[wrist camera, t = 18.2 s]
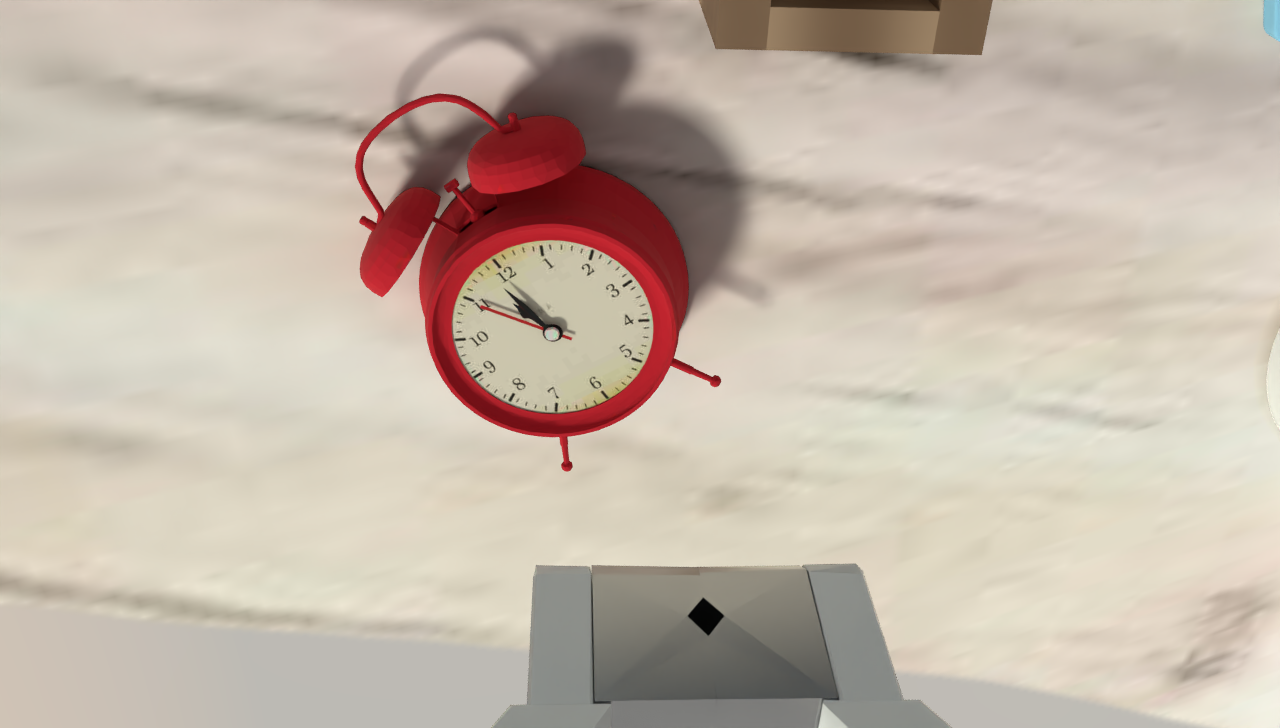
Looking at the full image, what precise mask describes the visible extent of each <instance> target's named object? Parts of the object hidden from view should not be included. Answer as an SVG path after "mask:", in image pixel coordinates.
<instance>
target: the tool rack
mask: <svg viewBox="0 0 1280 728" xmlns="http://www.w3.org/2000/svg"><path fill="white" fill-rule="evenodd" d="M699 2H700V5H701V8H702V11H703V14H704V16H705V19H706V22H707V25H708V28H709V31H710V33H711V36H712V39H713V42H714V45H715V48H716V49H745V50H788V51H832V52H875V53H919V54H962V55H982V50H983V45H984V40H985V35H986V30H987V25H988V20H989V15H990V10H991V5H992V0H699Z"/></svg>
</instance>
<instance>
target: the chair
mask: <svg viewBox="0 0 1280 728" xmlns="http://www.w3.org/2000/svg"><path fill="white" fill-rule="evenodd" d="M1263 24H1264V29H1265V31H1266V33H1267V34H1269V35H1270V36H1271V37H1273V38H1274V39H1276V40H1278V41H1280V0H1264V22H1263Z"/></svg>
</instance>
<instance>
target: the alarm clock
mask: <svg viewBox="0 0 1280 728" xmlns="http://www.w3.org/2000/svg"><path fill="white" fill-rule="evenodd" d="M444 101H446V102H452V103H457V104H459V105H462V106H464V107H466V108H468V109H470V110H471V111H473V112H474V113H476V114H477V115H478V116H480V117H481V118H483V119H484V120H485V121H486V122H487V123H489V124H490V125H491V126H492V127H493V128H495V129H494V130H492V131H491V132H489V133H488V134H486V135H485V136H483V137H482V138H481V139H480V140H479V141H477V142H476V144H475V145H474V146H473V148H472V149H471V151H470V153H469V157H468V162H467V168H468V174H469V178H470V181H471V184H472V186H471V187H470V188H468V189H467V190H466V191H465V192H463V193H461V192H460V190H459V189H458V188H457V187H458V186H459V183H458V181H457V180H456V179H455V178H454V179H453V180H452V181H450V182H449V183H447V184H446V185H444V188H445V190H446V191H447V192H448V193H449V192H451V191H453V192H454V193H455V194H456V196H457V197H458V198H456V199H455V200H454V201H453V202H452V203H450V205H449V206H448V207H447V209H446V210H445V211H444V212H443V214H442V215H441V217H440V218H439V219H437V218H436V217H434V216H435V214H436V211H437V209H438V206H439V202H440V198H441V197H440V196H439V195H437V194H436V193H434V192H433V191H431V190H428V189H425V188H423V187H413V188H410V189H408V190H406V191H404V192H403V193H401V194H400V195H399V196H398V197H397V198H396V199H395V200H394V201H393V202H392V203H391V204H390V205H389V206H388V208H387V209H386V210H385V212H384V209H383V208H382V206H381V205H380V203H379V202H378V200H377V199H376V197H375V195H374V194H373V192H372V191H371V189H370V187H369V185H368V183H367V181H366V179H365V176H364V172H363V159H364V155H365V152H366V150H367V149H368V147H369V145H370V144H371V142H372V141H373V140H374V139H375V138H376V136H377V135H378V134H379V133H380V132H381V131H382V130H383V129H385V128H386V127H387V126H388V125H389V124H391V123H392V122H393V121H394V120H395V119H397V118H399V117H400V116H402V115H403V114H405V113H407V112H409V111H410V110H412V109H414V108H417V107H419V106H422V105H425V104H428V103H432V102H444ZM508 119H509V122H510V123H508V124H505V125H503V126H501V125H500V124H499V123H498V122H497V121H496V120H495V119H494V118H493V117H492V116H490V115H489V114H488V113H487V112H486V111H484V110H483V109H482V108H480V107H479V106H477V105H476V104H475V103H473V102H471V101H469V100H467V99H465V98H463V97H460V96H456V95H450V94H434V95H429V96H424V97H421V98H419V99H416V100H414V101H412V102H409V103H407V104H405V105H404V106H402V107H401V108H399V109H397V110H396V111H394V112H392V113H391V114H389V115H388V116H386V117H385V118H384V119H383V120H382V121H381V122H380V123H379V124H378V125H377V126H376V127H374V128H373V129H372V130H371V131H370V132H369V134H368V135H367V136H366V138H365V139H364V140H363V142H362V143H361V145H360V148H359V150H358V152H357V155H356V163H355V169H356V174H357V179H358V181H359V183H360V185H361V187H362V190H363V191H364V193H365V194H366V196H367V197H368V199H369V200H370V202H371V203H372V205H373V206H374V208H375V209H376V211H377V213H378V219H377V223H375V222H373V221H372V220H370V219H368V218H366V217H365V216H362V217H361V219H360V221H359V222H360V224H362V225H365V227H367V228H368V229H370V230H371V231H372V232H371V234H370V236H369V238H368V241H367V243H366V246H365V249H364V251H363V254H362V257H361V263H360V275H361V279H362V280H363V282H364V284H365V285H366V287H367V288H369V289H370V290H371V291H372V292H374V293H375V294H377V295H379V296H381V297H383V296H384V295H385V294H386V293H387V292H388V291H389V290H390V289H391V287H392V286H393V285H394V284H395V282H396V281H397V280H398V278H399V277H400V275H401V274H402V272H403V271H404V269H405V268H406V266H407V265H408V263H409V262H410V260H411V259H412V257H413V255H414V254H415V252H416V250H417V248H418V247H419V245H420V243H421V242H422V240H423V238H424V236H425V234H426V232H427V231H428V229H429V227H430V225H431V223H432V221H434V222H435V223H436V224H435V226H434V228H433V230H432V232H431V234H430V236H429V238H428V241H427V244H426V247H425V250H424V253H423V257H422V261H421V267H420V276H419V291H420V300H421V305H422V310H423V313H424V316H425V329H426V337H427V343H428V346H429V350H430V353H431V356H432V359H433V361H434V363H435V366H436V368H437V370H438V372H439V374H440V376H441V378H442V379H443V381H444V382H445V384H446V385H447V386H448V388H449V389H450V390H451V392H452V393H453V394H454V395H455V396H456V397H457V398H458V399H459V400H460V401H461V402H462V403H463V404H464V405H465V406H466V407H468V408H469V409H470V410H472V411H473V412H474V413H476V414H477V415H479V416H480V417H482V418H484V419H485V420H487V421H489V422H491V423H493V424H495V425H497V426H500V427H503V428H505V429H508V430H511V431H514V432H518V433H522V434H526V435H533V436H542V437H560V445H561V446H562V452H563V458H564V462H563V463H562V464H561V467H562V469H563V470H564V471H570V470H571V469H572V467H573V466H572V462H570V461H569V455H568V439H567V437H568V436H575V435H581V434H586V433H590V432H594V431H597V430H600V429H603V428H605V427H608V426H610V425H612V424H614V423H616V422H618V421H620V420H622V419H624V418H625V417H627V416H629V415H630V414H631V413H633V412H634V411H635V410H637V409H638V408H639V407H641V406H642V405H643V404H644V403H645V402H646V401H647V400H648V399H649V398H650V397H651V396H652V394H653V393H654V392H655V391H656V390H657V388H658V387H659V385H660V384H661V382H662V381H663V379H664V377H665V375H666V373H667V372H668V370H669V368H670V366H673V367H675V368H677V369H680V370H682V371H684V372H687V373H689V374H693V375H695V376H697V377H700V378H702V379H704V380H707V381H709V382H710V384H711V386H713V387H718V386H719V385H720V383H721V379H720V377H719V376H716V375H714V376H713V377H711V376H709V375H707V374H705V373H703V372H701V371H699V370H696V369H694V368H693V367H692V366H690V365H688V364H685V363H683V362H681V361H679V360H677V359H674V355H675V352H676V348H677V344H678V336H679V330H680V328H681V326H682V323H683V320H684V317H685V313H686V308H687V303H688V291H689V283H688V272H687V266H686V261H685V257H684V253H683V250H682V247H681V244H680V242H679V240H678V237H677V235H676V233H675V231H674V230H673V228H672V226H671V225H670V223H669V221H668V220H667V219H666V217H665V216H664V215H663V213H662V212H661V211H660V210H659V209H658V208H657V207H656V206H655V204H654V203H653V202H652V201H650V200H649V199H648V198H647V197H646V196H645V195H643V194H642V193H641V192H639V191H638V190H637V189H636V188H634V187H633V186H631V185H629V184H628V183H626V182H624V181H622V180H620V179H618V178H616V177H614V176H612V175H610V174H608V173H605V172H603V171H599V170H596V169H593V168H589V167H584V166H580V165H579V164H580V163H581V161H582V159H583V158H584V156H585V155H586V150H585V145H584V141H583V138H582V136H581V134H580V132H579V130H578V128H577V127H576V126H575V125H574V124H572V123H571V122H570V121H569V120H567V119H564V118H561V117H556V116H549V115H548V116H533V117H528V118H524V119H520V120H518V118H517V115H516V113H514V112H513V113H510V114H508Z"/></svg>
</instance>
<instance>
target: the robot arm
mask: <svg viewBox="0 0 1280 728" xmlns="http://www.w3.org/2000/svg"><path fill="white" fill-rule="evenodd" d="M1266 388H1267V398H1268V403H1269V407H1270V411H1271V414H1272V417H1273V419H1274V421H1275V423H1276V425H1277V427H1278V429H1279V430H1280V328H1279V330H1278V333H1277V335H1276V338H1275V341H1274V343H1273V346H1272V350H1271V354H1270V357H1269V363H1268V368H1267V385H1266ZM491 728H952V727H951V726H950V725H949V724H948V723H946V722H945V721H944V720H943V719H942V718H940V717H939V716H938V715H937V714H936V713H935V712H934V711H932V710H931V709H930V708H929V707H928V706H927V705H925V704H924V703H923V702H922V701H921V700H904V699H903V696H902V693H901V689H900V686H899V683H898V680H897V677H896V674H895V671H894V667H893V664H892V661H891V658H890V655H889V652H888V649H887V645H886V642H885V639H884V636H883V633H882V630H881V627H880V623H879V620H878V617H877V614H876V611H875V608H874V605H873V601H872V598H871V595H870V592H869V589H868V586H867V583H866V580H865V576H864V573H863V571H862V570H861V569H860V568H859V567H858V565H857V564H817V565H803V566H802V567H801V566H799V565H797V566H725V567H657V566H601V565H592V571H590V567H587V566H542V565H536V569H535V573H534V577H533V592H532V612H531V632H530V652H529V673H528V692H527V705H510V706H509V707H508V708H507V710H506V711H505V712H504V713H503V714H502V715H501V717H500V718H499V719H498V720H497V721H496V722H495V724H494V725H493V726H492V727H491Z"/></svg>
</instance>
